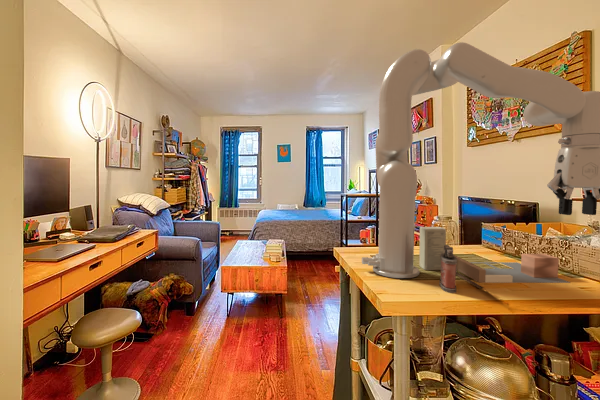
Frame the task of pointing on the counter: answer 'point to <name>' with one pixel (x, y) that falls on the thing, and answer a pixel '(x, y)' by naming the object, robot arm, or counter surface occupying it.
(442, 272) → the lighter
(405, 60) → the robot arm
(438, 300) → the counter surface
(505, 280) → the trap deck
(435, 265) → the skincare box
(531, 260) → the block
